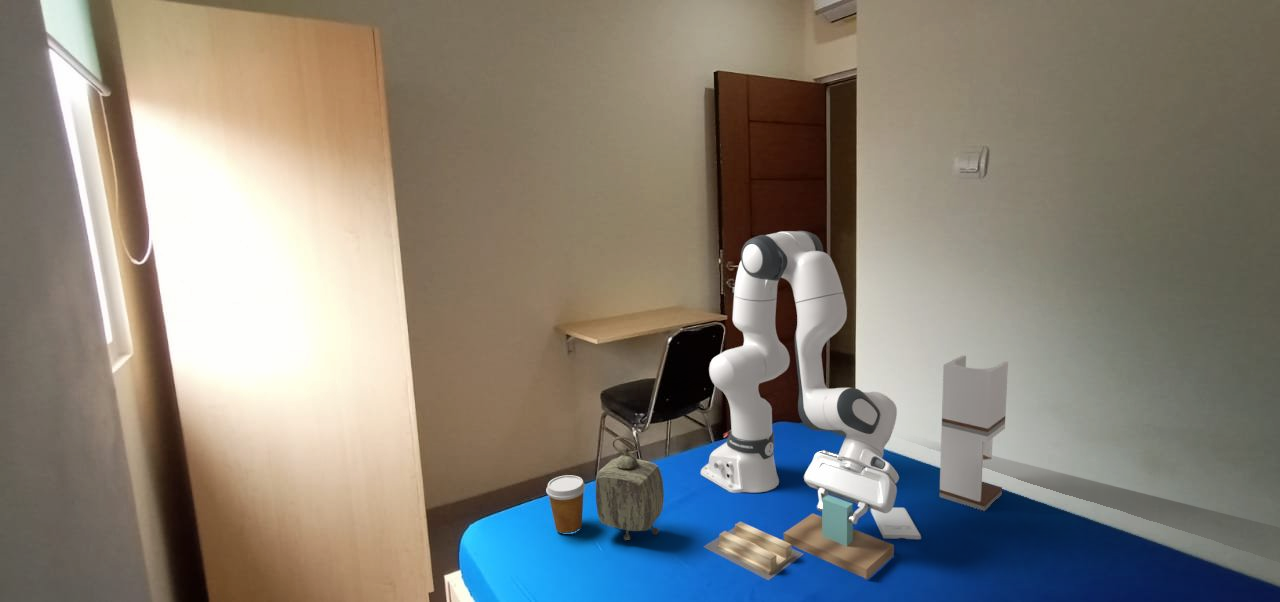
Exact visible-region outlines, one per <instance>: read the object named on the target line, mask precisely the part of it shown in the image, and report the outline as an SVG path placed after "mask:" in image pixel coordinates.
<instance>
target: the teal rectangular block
mask: <svg viewBox="0 0 1280 602" xmlns="http://www.w3.org/2000/svg"><path fill="white" fill-rule="evenodd" d="M853 507H854V503H853V502H851V501H848V500H845V499H842V498H839V497H837V496H834V495H831V494H828V495H827V496H826V497H825V496H824V498H823V499H822V511H821V517H822V536H823V537H825V538H828V539H830V540H833V541H835V542H837V543H840V544H842V545H845V546H848V545H849V544H850V543H852V542H853V529H854V526H853V525H854V524H853V523H851V522H849V521H848V520H847V518H848V516H849V513H850V512H851V513H854V508H853Z"/></svg>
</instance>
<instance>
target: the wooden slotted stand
mask: <svg viewBox="0 0 1280 602" xmlns="http://www.w3.org/2000/svg"><path fill="white" fill-rule="evenodd" d="M727 532H729V533H731V534H733V535H735V527H732V528H731V529H729V530H728V531H727ZM718 545H720V540H719V536H718V537H717V538H715V539H714V540H712V541H710V542H708V543H707V544H706V545H704V546H703V548H704V549H707V550H708V551H710V552H712V553H713V554H716V555H718V556H720V557H722V558H724V559H726V560H727V561H729V562H732V563H733V564H735V565H737V566H740V567H741V568H743V569H745V570H747V571H749V572H752V574H754V575H757V576H759V577H760V578H762V579H765V580H767V581H770V580H771V579H772V578H774V577H776V576H777V575H778V574H779V573H780V572H782V571H784V569H786V568H787V567H790V565H791V564H793V563H794V562H795V561H797V560H798V559H800V558H801V557H802V556H803V555H804V553H803V552H801V551H799V550H796V549H794V548H793V547H791V550H792V553H794V557H793V558H791V559H790V560H789V561H787V562H786V563H785V564H783V565H782V566H780V567H779V568H778V569H776V570H775V571H774V572H772V573H771V574H770V575H768V574H766V573H764V572H762V571H760V570H758V569H756V568H754V567H752V566H750V565H748V564H746V563H744V562H742V561H740V560H738V559H736V558H734V557H732V556H730V555H728V554H726V553H724V552H722V551H720V550H718V547H717V546H718Z"/></svg>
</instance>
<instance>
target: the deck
mask: <svg viewBox="0 0 1280 602" xmlns="http://www.w3.org/2000/svg"><path fill="white" fill-rule="evenodd" d="M783 541H785V542H787V543H790V544H791V547H795V548H797V549H798V550H801V551H803V552H806V553H808V554H810V555H812V556H814V557H817V558H819V559H821V560H824V561H825V562H828V563H831V564H832V565H834V566H837V567H839V568H841V569H843V570H846V571H848V572H850V573H852V574H854V575H857V576H859V577H862V578H864V579H865V581H867V580H869V579H870V578H871V577H872V576H873V575H875V573H877V571H879V570H880V569H881V568H882V567H883V566H884V565H885V564H886V563H887V562H888V561H890V560H891V559H892V558H893V557H894V556H895V555H894V553H895V551H894V550H895V546H894V544H892V543H890V542H887V541H884V540H883V539H882V540H881V539H879V538H878V537H874V536H872V535H869V534H867V533H864V532H861V531H859V530H856V529H854V528H853V542H852V543H850V544H849V545H848V546H845V545H842V544H840V543H837V542H835V541H833V540H830V539H828V538H825V537H823V536H822V515H819V514H815V513H813V512H812V513H811V514H809V515H808V516H806V517H805V518H804V519H801V520H800V521H799V522H797V523H796V524H795V525H793V526H792V527H789V529H787V530H786V531H785V532H783Z"/></svg>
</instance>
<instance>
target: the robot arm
mask: <svg viewBox="0 0 1280 602" xmlns="http://www.w3.org/2000/svg"><path fill="white" fill-rule="evenodd" d="M781 278H782V279H784V280H786V281H787V282H788V283H789V284H790V286H791V289H792V294H793V297H794V298H793V299H794V302H795V308H796V315H797V317H796V319H797V320H796V321H797V323H796V324H797V325H796V330H795V332H794V353H795V361H796V370H797V379H798V380H797V381H798V400H797V412H798V415H799V418H800V420H801V422H802V423H803V424H804V425H805V426H806V428H808V429H810V430H812V431H815V432H821V431H831V430H832V431H842V432H843V433H845V435H846V436H845V438H844V440H843V442H842V445H841V447H840V450H839V452H838V453H836V452H832V451H829V450H826V449H822V450H821V451H817V452H816V453H814V456H813V458H812V461H811V463H810V464H809V465H808V466H807V467H808V468H807V469H806V471H805V473H804V475H803V479H804V482H805V483H806V485H807V486H809V487H810V488H811V489H812V488H813V489H815V490H817V496H818V503H817V505H816V509H817V510H818V511H820V512H822V499H823V498H824V497H826V496H827V495H831V496H834V497H837V498H839V499H842V500H845V501H848V502H851V503H853V504H854V503H855V504H857V507H858V508H857V509H856V510H855V511H853V513H851V512H850V513H849V516H848V518H847V520H848V521H849V522H851V523H853V525H857V524H858V521H859V518H861V517H862V516H864V515H865V514H866V513H867V512H868V510H869V509H870V510H871V509H874V510H877V511H880V512H883V513H888V512H890V511H891V510H892V508H893V507H894V505H895V501H896V497H897V492H898V490H897V485H896V484H897V483H898V482H899V479H900V476H899V474H898V472H897V470H896V469H895V468H894V467H893V465H892V464H891V463H890V462H888V461H886V460H885V459H883V457H884V449H885V447H886V445H887V444H888V443H889V442H890V439H891V437H892V434H893V431H894V428H895V425H896V421H897V415H898V414H897V413H898V410H897V409H898V408H897V405H896V403H895V402H894V401H893V400H892V399H891V398H890V397H888V396H887V395H885V394H884V393H881V392H878V391H869V392H865V391H862V390H860V389H859V388H854V387H836V388H828V387H827V385H826V383H825V378H824V376H825V375H824V367H823V359H822V357H823V356H822V352H823V348H824V346H825V344H826V343H827V342H828V341H829V340H830V338H832V337H833V336H834V335H836V334H837V333H838V332H839V331H840V330H841V329H842V327H843V326H844V324H845V323H846V321H847V317H848V316H847V315H848V312H847V311H848V307H847V301H846V298H845V294H844V290H843V286H842V283H841V279H840V276H839V273H838V271H837V268H836V266H835V263H834V262H833V260H832V257H831V256H830V255H829V254H828V253H826V252H824V247H823V244H822V242H821V240H820V237H818V236H817V235H816V234H814V233H812V232H809V231H805V230H796V231H795V230H794V231H793V230H791V231H790V230H788V231H786V230H785V231H778V232H773V233H769V234H760V235H757V236H754V237H752V238H750V239H748V240H747V241H746V242H745V243H744V244H743V246H742V248H741V252H740V262H739V264H738V268H737V271H736V277H735V283H734V293H733V302H732V323H733V325H734V326H735V328H737V329H738V330H739V331H740V332H742V335H743V345H740V346H737V347H734V348H730V349H726V350H724V351H722V352H720V353H719V354H717V355H716V356H714V357H713V358H712V359H711V361H710V362H709V367H708V373H709V377H710V380H711V382H712V384H713V385H714V386H715V387H716V388H717V389H718V390H719V391H722V392H723V394H724V395H725V397H726V399H727V401H728V405H729V410H730V411H729V412H730V425H731V426H730V427H731V429H729V431H727V432H725V433H723V438H724V439H725V438H727V439H726V442H724V443H722V444H721V445H720V446H718V447H717V448H715V449H713V451H712V452H711V453H710V455H709V459H708V463H706V464H705V465H704V466H703V467H702V468H701V469H700V475H701V476H702V477H704V478H706V479H708V480H709V481H710V482H712V483H714V484H716V485H717V486H719V487H721V488H723V489H724V490H726V491H727V492H729V493H734V494H735V493H737V494H738V493H756V494H757V493H763V492H769V491H772V490H774V489H776V488H777V486H779V483H780V479H779V476H778V473H777V469H776V468H777V467H776V461H775V458H774V456H775V455H774V451H775V434H774V431H773V415H772V414H773V413H772V412H773V411H772V410H773V408H772V406H771V404H770V403H769V402H768V401H767V400H766V399H765V398H764V397H761V395H760V392H759V385H760V384H762V383H766V382H769V381H772V380H774V379H776V378H777V377H780V375H782V374H784V373H785V372H786V371H787V370H788V368H789V366H790V362H791V360H790V359H791V357H790V354H789V351H788V349H787V347H786V346H785V345H784V344H783V343H782V342H781V341H780V340H779V337H778V334H777V329H776V315H777V314H776V311H777V310H776V309H777V300H778V299H777V297H778V296H777V295H778V284H779V281H780V280H781Z"/></svg>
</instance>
